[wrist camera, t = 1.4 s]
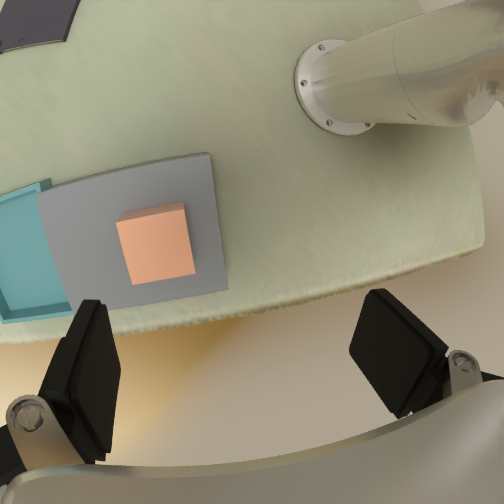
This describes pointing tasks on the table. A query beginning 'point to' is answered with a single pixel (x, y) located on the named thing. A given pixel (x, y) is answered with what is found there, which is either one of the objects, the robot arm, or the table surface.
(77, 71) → the table surface
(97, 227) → the slate bench plate
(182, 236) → the terracotta block
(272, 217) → the table surface
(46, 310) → the tray
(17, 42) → the notebook
